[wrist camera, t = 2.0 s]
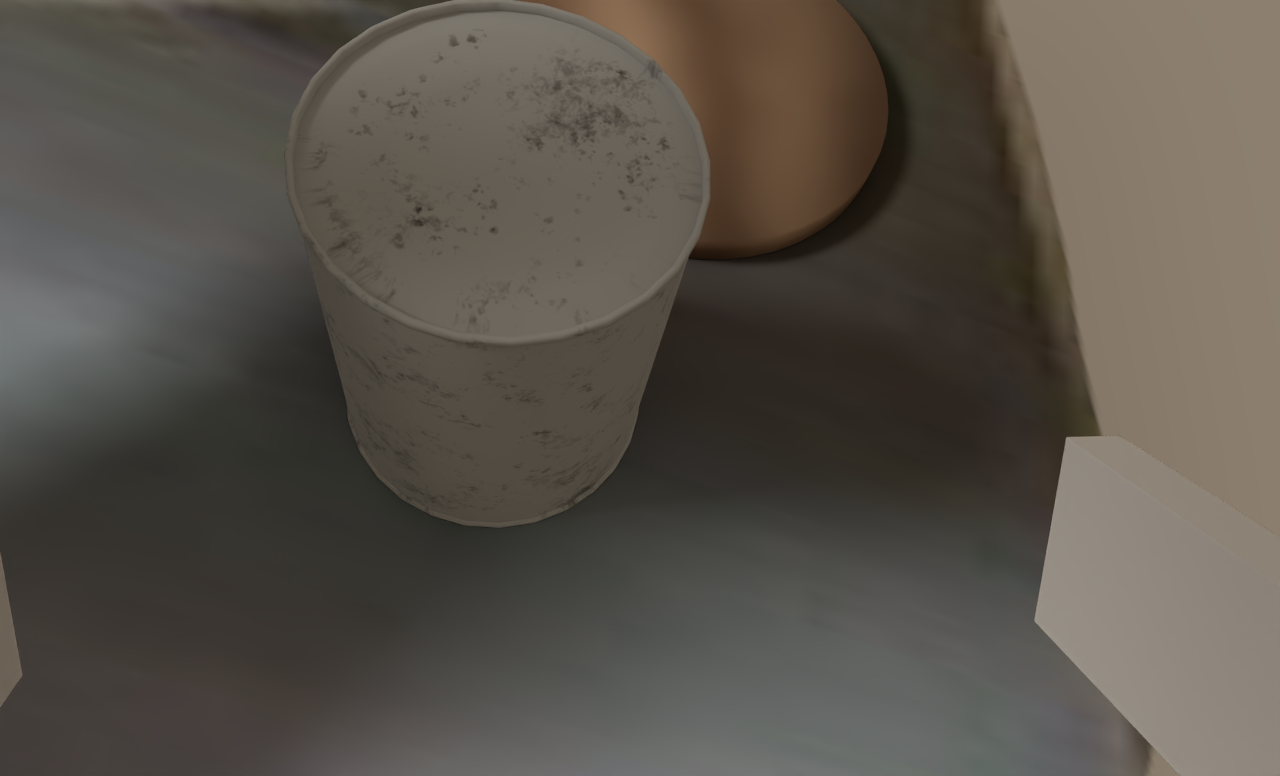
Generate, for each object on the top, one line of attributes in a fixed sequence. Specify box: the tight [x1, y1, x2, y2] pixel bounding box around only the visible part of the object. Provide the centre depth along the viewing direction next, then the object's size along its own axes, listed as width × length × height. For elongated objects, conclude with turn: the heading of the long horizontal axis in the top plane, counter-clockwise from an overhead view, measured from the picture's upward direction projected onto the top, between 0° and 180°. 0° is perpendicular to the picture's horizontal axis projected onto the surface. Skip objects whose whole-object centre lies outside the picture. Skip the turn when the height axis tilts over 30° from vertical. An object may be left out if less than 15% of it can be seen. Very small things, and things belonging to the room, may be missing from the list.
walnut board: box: [520, 0, 888, 260], centre depth 41 cm, size 15×15×1 cm
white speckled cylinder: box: [284, 0, 710, 528], centre depth 29 cm, size 10×10×12 cm
